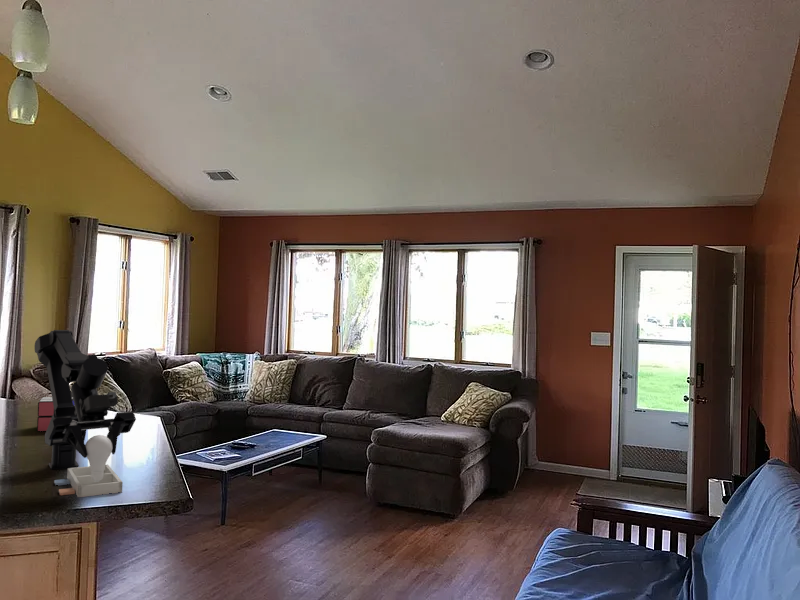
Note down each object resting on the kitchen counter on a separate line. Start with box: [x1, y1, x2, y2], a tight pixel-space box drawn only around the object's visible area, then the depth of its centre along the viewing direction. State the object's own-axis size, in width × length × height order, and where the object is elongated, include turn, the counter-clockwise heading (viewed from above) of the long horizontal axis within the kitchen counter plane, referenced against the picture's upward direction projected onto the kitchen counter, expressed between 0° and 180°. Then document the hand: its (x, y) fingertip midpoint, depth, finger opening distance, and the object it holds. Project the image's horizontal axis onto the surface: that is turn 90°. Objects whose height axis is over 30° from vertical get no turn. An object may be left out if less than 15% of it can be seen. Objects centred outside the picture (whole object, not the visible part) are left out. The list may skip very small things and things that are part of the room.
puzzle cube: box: [36, 396, 75, 433], centre depth 223 cm, size 10×10×10 cm
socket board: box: [53, 464, 123, 498], centre depth 159 cm, size 18×13×2 cm
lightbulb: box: [84, 434, 113, 482], centre depth 157 cm, size 6×6×11 cm
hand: (100, 455), depth 156 cm, fingers closed on lightbulb, 6 cm apart
